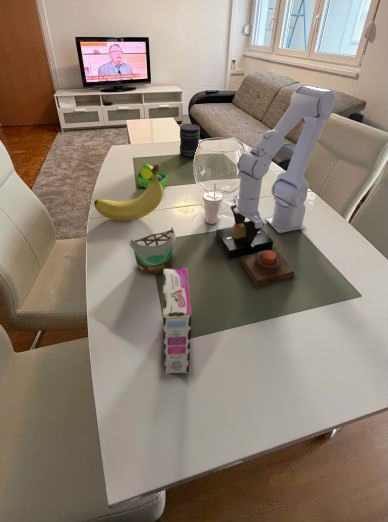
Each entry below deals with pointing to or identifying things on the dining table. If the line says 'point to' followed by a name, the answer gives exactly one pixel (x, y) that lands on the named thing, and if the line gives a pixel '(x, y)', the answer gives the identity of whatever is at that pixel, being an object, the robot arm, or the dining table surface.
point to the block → (266, 268)
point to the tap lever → (239, 231)
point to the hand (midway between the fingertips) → (244, 234)
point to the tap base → (242, 243)
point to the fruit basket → (149, 176)
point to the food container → (154, 251)
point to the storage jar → (189, 140)
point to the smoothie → (212, 205)
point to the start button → (268, 257)
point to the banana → (133, 202)
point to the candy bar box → (176, 321)
